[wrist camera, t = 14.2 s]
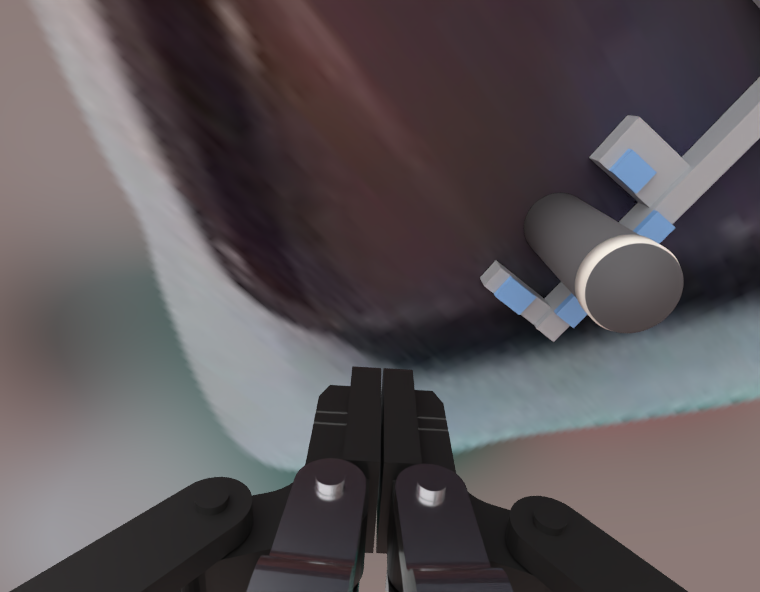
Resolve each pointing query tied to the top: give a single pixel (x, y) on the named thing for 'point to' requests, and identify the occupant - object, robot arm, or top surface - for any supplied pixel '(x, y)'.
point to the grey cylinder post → (604, 263)
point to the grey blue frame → (642, 196)
